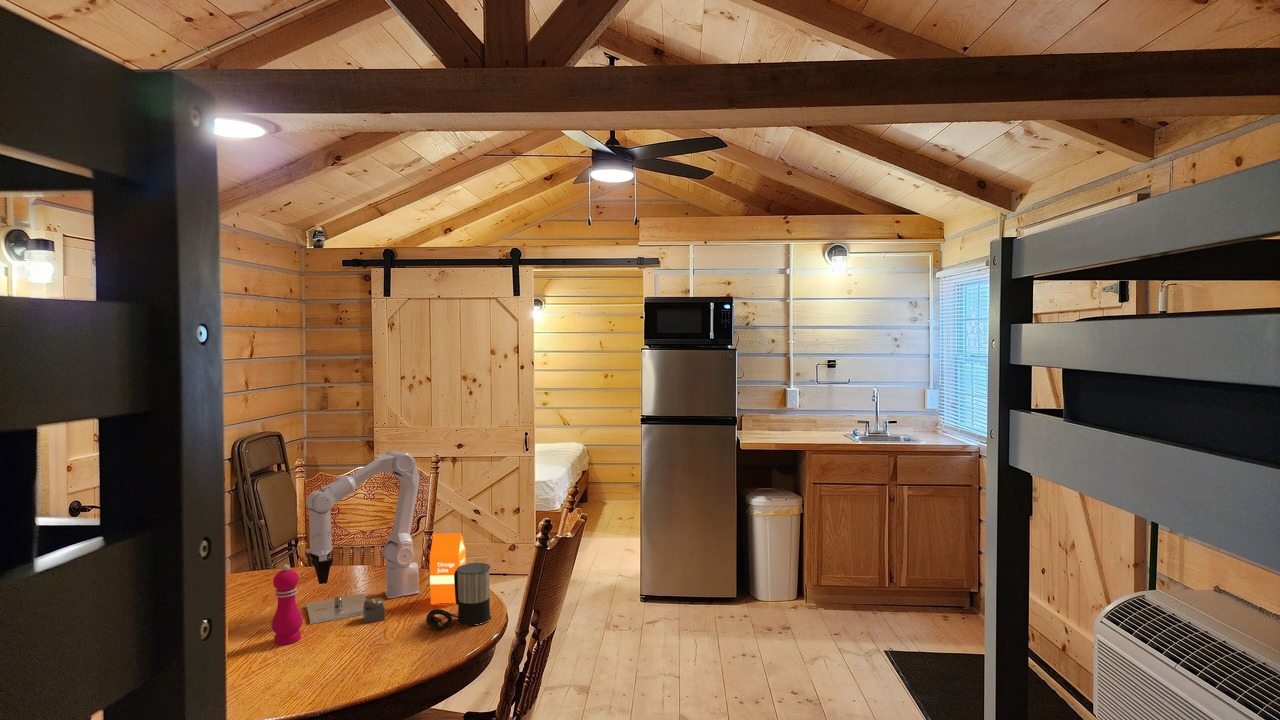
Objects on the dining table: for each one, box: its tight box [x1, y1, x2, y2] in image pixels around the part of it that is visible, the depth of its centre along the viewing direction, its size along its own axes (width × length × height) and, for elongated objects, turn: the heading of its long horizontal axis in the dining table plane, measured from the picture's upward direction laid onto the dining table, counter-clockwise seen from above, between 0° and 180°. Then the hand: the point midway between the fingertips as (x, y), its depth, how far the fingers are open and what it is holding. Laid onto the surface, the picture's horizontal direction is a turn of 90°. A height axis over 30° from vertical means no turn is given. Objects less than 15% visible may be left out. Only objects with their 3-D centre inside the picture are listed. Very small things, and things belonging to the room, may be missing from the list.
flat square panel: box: [305, 592, 368, 625], centre depth 207 cm, size 16×16×4 cm
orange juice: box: [429, 533, 467, 605], centre depth 213 cm, size 8×9×20 cm
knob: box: [362, 597, 386, 624], centre depth 199 cm, size 5×5×5 cm
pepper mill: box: [271, 564, 303, 646], centre depth 185 cm, size 7×7×20 cm
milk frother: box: [425, 562, 492, 630], centre depth 195 cm, size 14×16×15 cm
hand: (322, 579), depth 204 cm, fingers open, 7 cm apart
